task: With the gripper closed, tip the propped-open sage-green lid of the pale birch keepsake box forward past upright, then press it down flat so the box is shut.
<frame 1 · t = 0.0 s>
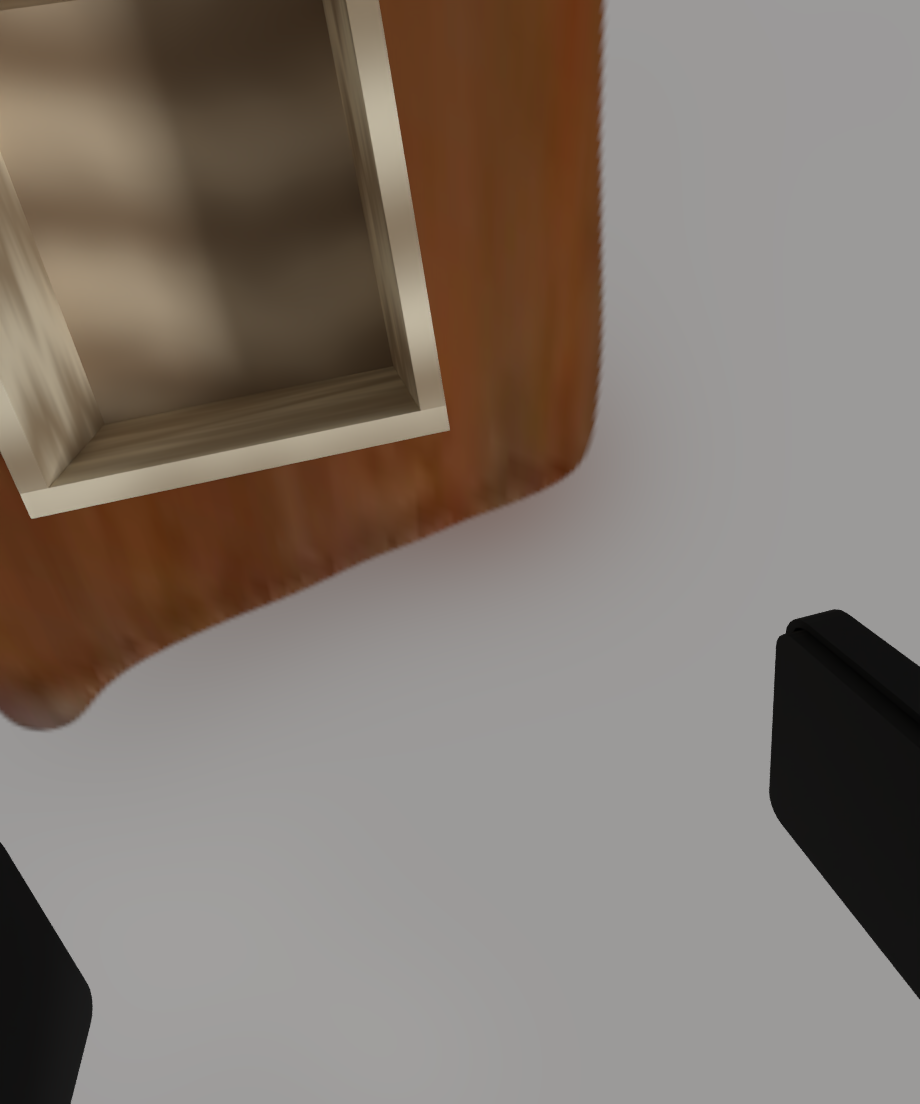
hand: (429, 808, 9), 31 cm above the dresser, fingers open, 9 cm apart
box: (203, 215, 33), on the dresser
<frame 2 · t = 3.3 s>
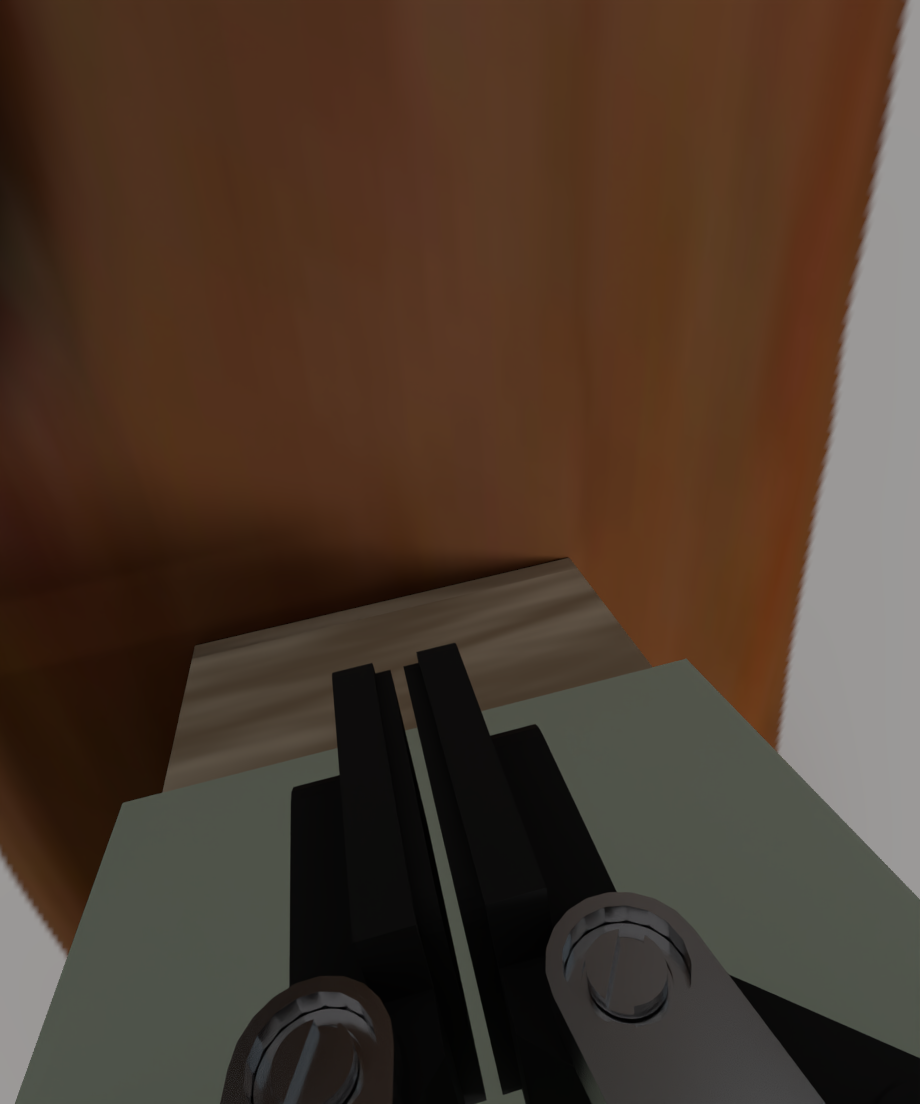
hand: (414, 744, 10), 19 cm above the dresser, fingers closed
box: (424, 761, 35), on the dresser
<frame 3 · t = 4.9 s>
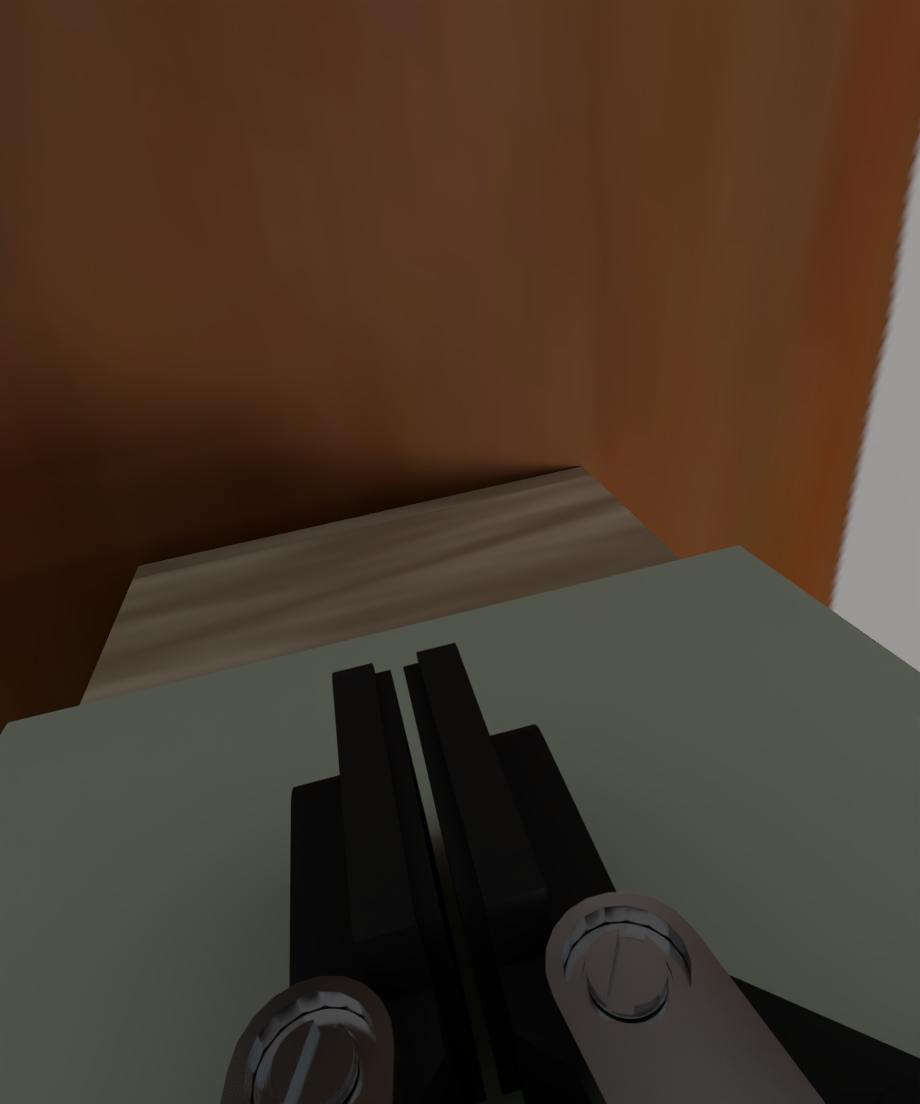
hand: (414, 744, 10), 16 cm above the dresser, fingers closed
box: (413, 711, 30), on the dresser
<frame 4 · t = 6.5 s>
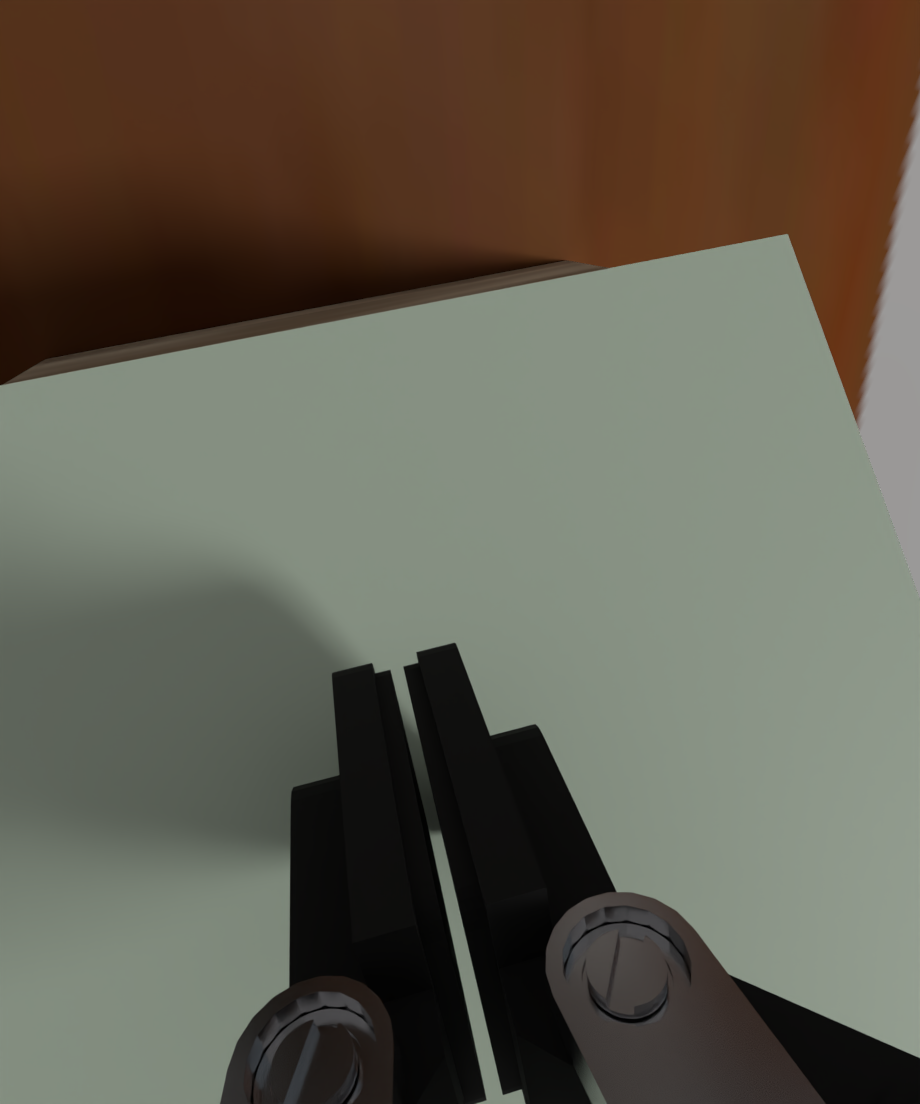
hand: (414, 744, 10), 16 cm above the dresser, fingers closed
lid: (460, 937, 11), point 16 cm above the dresser, hinge at 36.5°, touching gripper
box: (376, 566, 26), on the dresser
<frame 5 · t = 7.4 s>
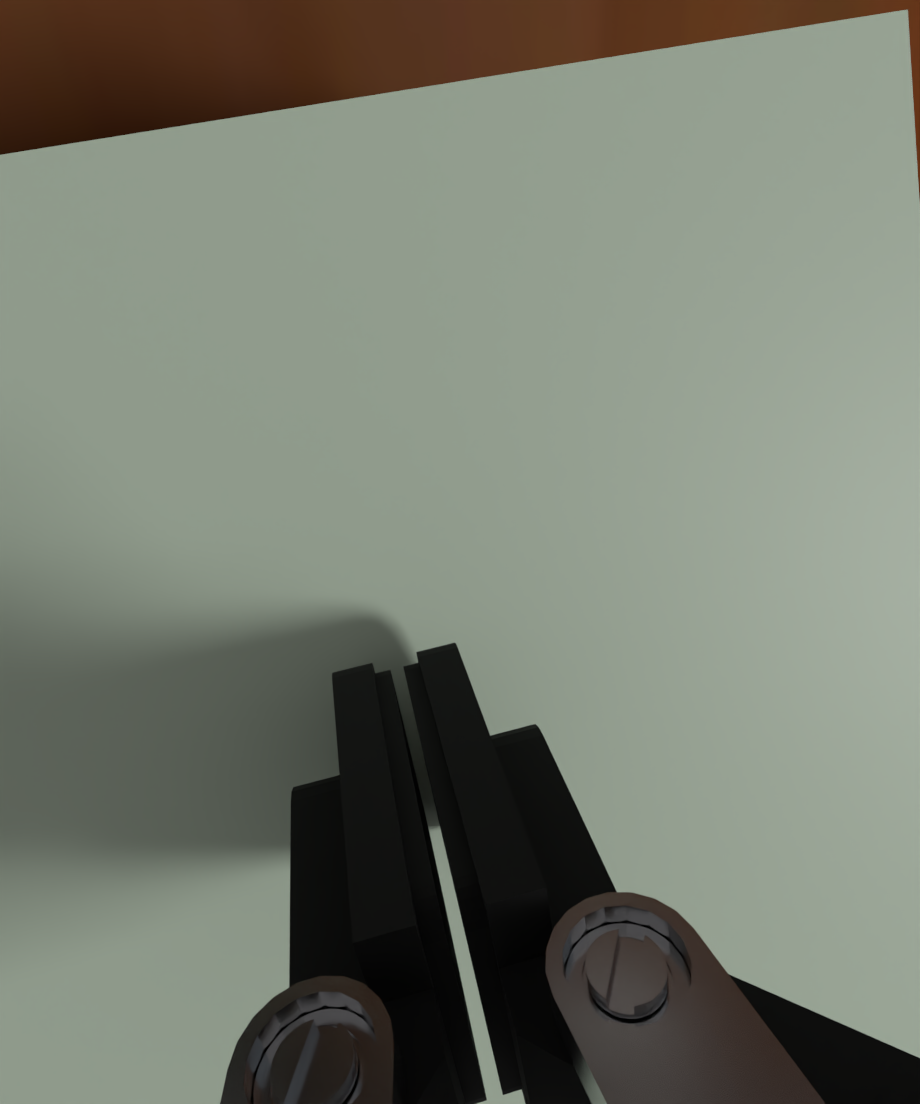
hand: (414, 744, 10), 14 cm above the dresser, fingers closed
lid: (431, 806, 12), point 13 cm above the dresser, hinge at 13.9°
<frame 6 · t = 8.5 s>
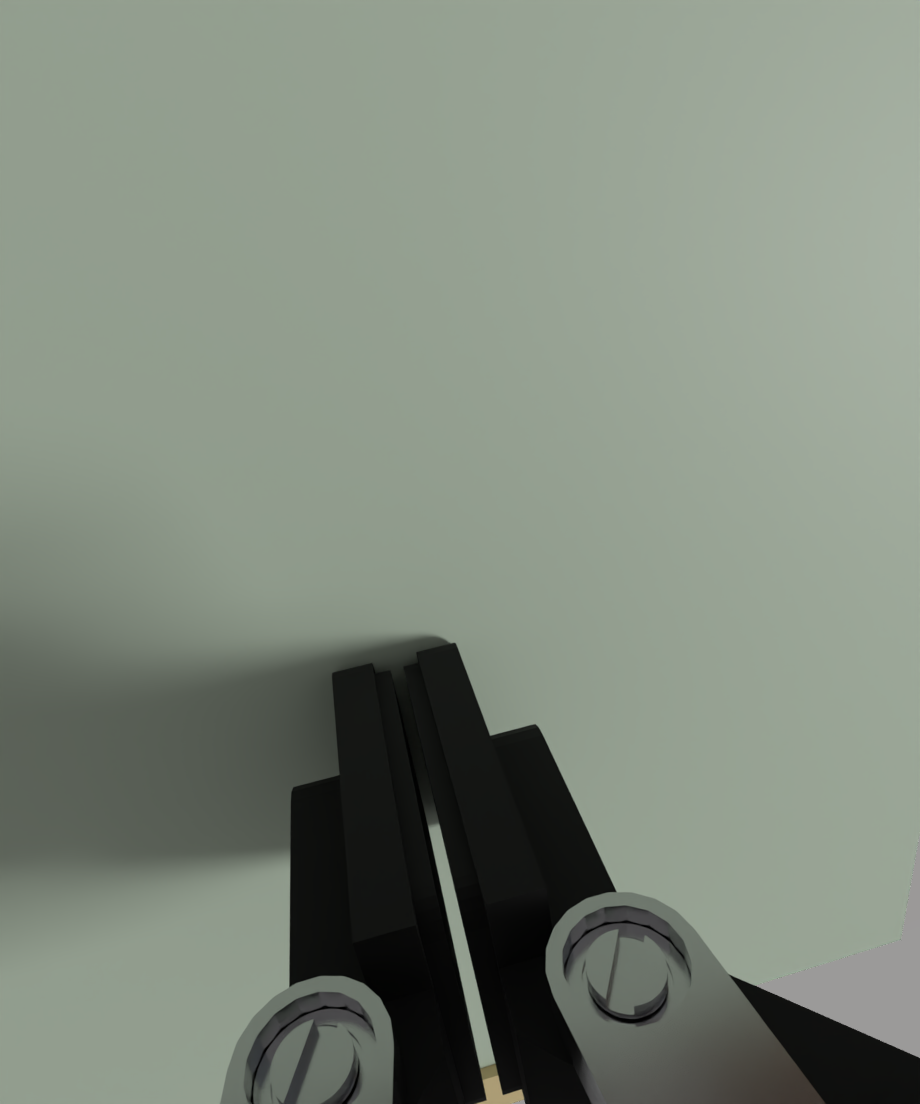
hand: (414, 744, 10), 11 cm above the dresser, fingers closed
lid: (387, 622, 11), point 10 cm above the dresser, hinge at -0.2°, touching gripper
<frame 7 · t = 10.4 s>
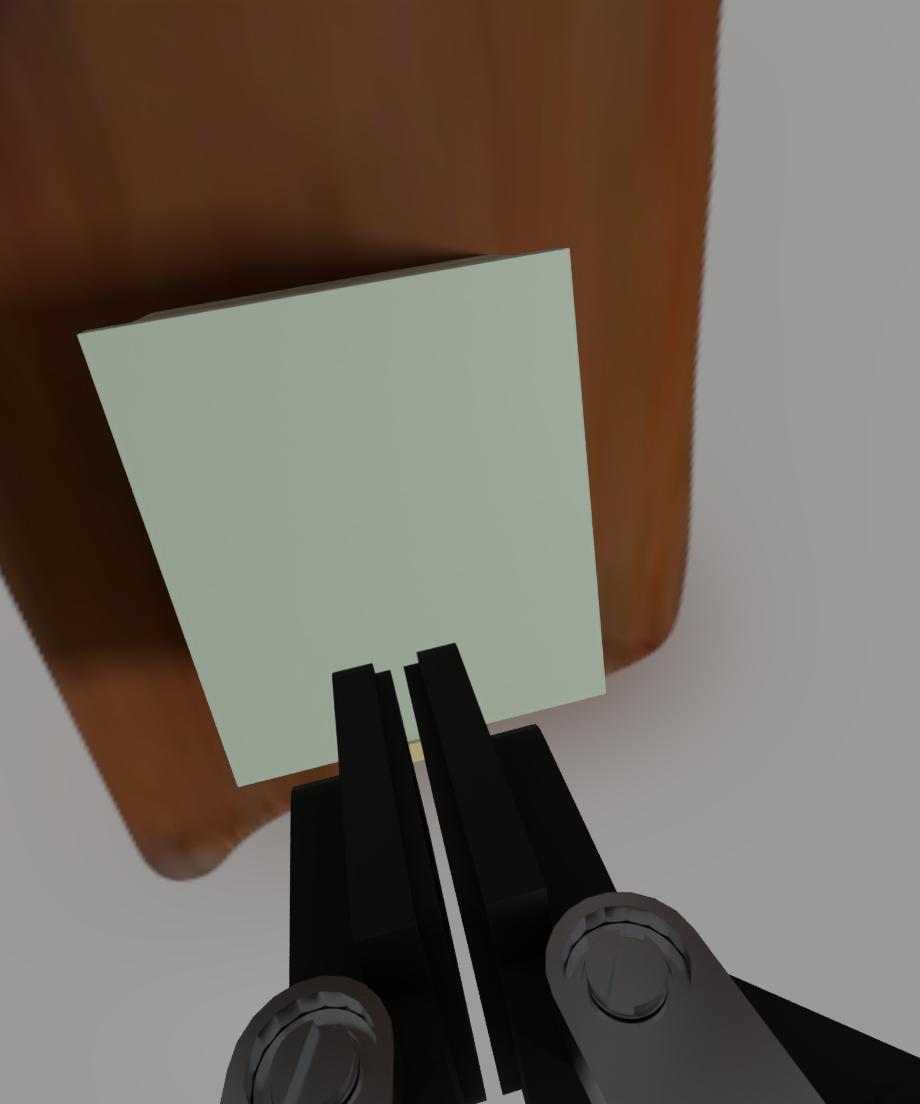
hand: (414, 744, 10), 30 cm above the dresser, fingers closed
lid: (385, 543, 30), point 10 cm above the dresser, hinge at -0.2°
box: (362, 461, 39), on the dresser
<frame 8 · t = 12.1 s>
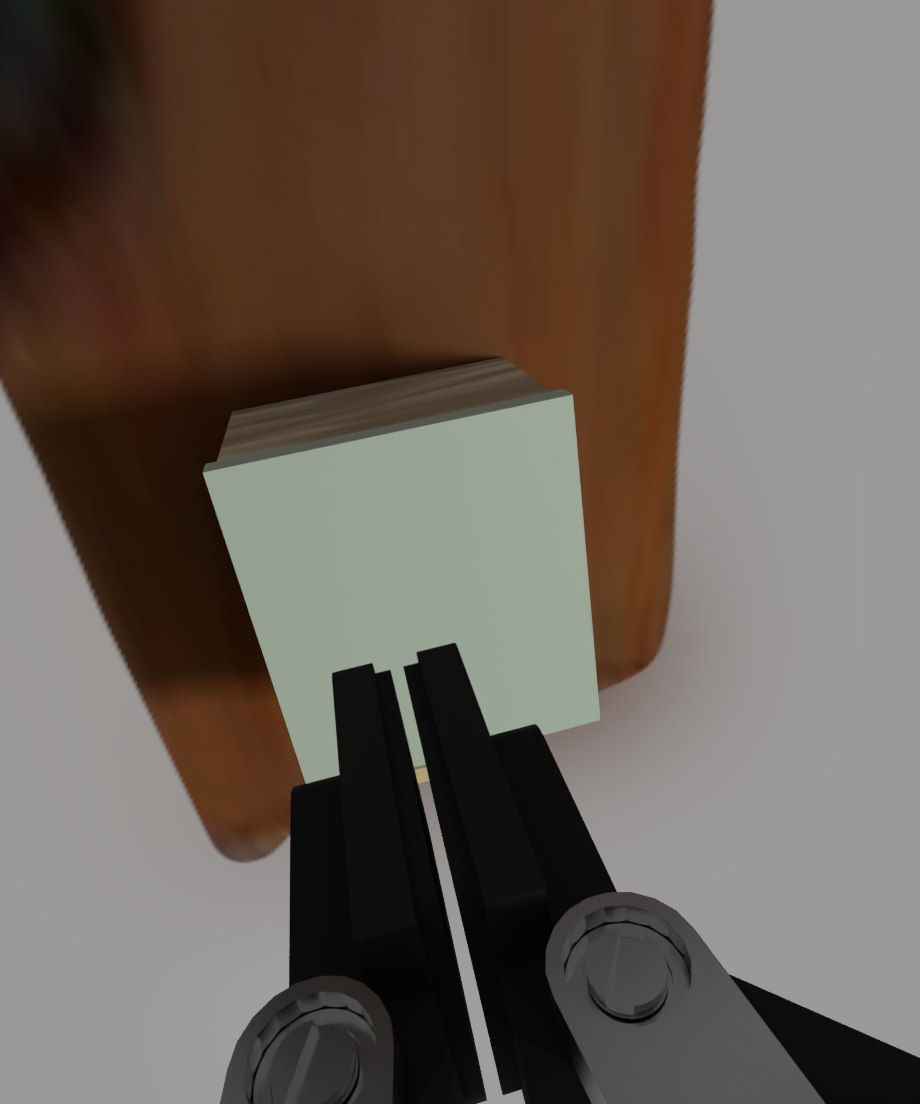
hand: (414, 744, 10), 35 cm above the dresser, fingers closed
lid: (427, 609, 38), point 10 cm above the dresser, hinge at -0.2°
box: (399, 523, 47), on the dresser
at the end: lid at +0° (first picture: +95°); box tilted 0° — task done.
